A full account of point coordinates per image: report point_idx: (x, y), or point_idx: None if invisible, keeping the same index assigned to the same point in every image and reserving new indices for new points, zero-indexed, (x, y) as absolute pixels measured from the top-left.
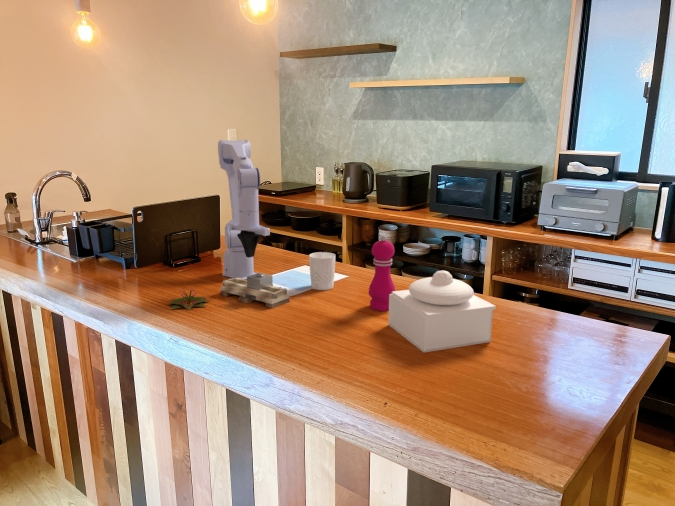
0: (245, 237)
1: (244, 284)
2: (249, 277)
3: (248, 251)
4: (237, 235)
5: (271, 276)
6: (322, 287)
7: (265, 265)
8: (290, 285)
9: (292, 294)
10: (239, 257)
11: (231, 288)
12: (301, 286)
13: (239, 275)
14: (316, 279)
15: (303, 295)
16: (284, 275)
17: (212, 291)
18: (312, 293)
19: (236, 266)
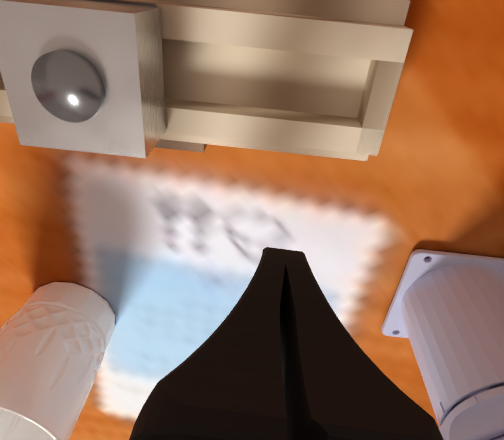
0: (233, 395)
1: (278, 111)
2: (103, 10)
3: (256, 276)
4: (429, 427)
5: (19, 133)
6: (35, 293)
7: (428, 413)
8: (182, 281)
9: (84, 197)
10: (485, 350)
11: (312, 9)
12: (138, 289)
13: (447, 272)
14: (36, 311)
15: (40, 207)
16: None
17: (483, 21)
18: (37, 242)
19: (482, 303)
